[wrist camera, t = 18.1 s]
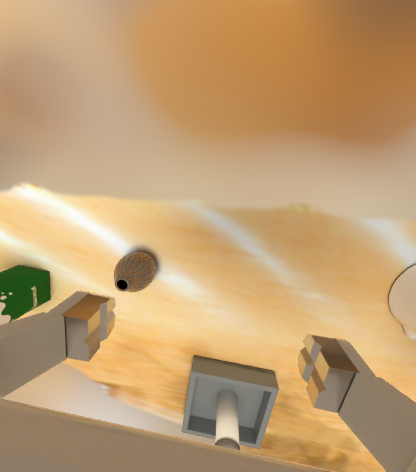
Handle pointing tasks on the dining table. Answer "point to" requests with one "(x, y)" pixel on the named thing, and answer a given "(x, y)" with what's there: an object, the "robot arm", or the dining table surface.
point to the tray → (246, 389)
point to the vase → (134, 272)
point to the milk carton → (22, 291)
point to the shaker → (227, 420)
